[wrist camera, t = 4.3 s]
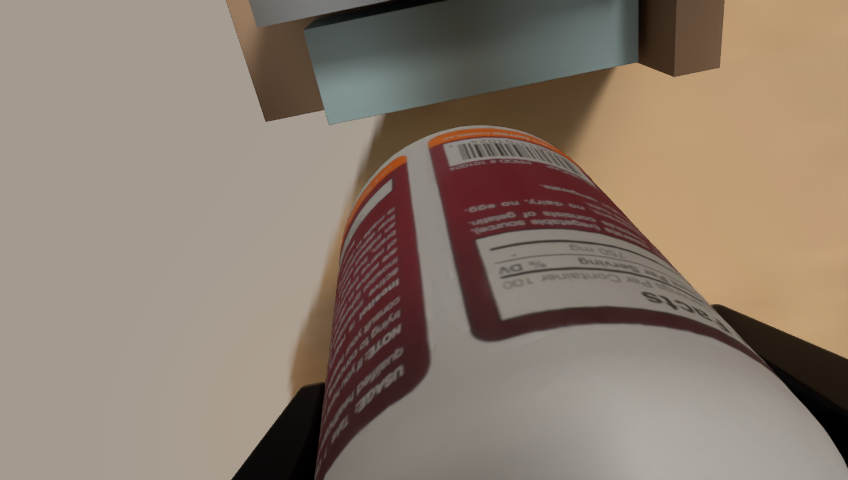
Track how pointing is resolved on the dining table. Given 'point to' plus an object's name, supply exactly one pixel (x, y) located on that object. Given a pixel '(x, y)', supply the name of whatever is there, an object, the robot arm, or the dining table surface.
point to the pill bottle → (535, 337)
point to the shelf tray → (455, 47)
